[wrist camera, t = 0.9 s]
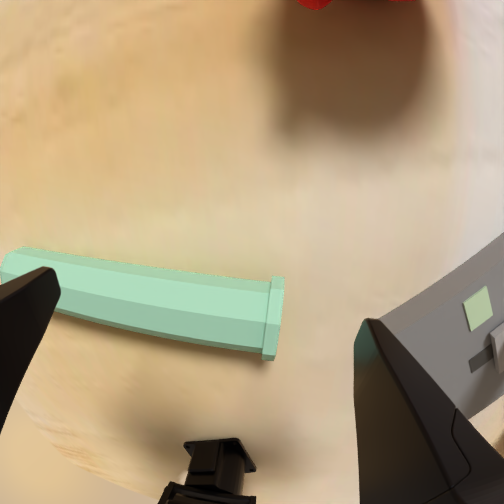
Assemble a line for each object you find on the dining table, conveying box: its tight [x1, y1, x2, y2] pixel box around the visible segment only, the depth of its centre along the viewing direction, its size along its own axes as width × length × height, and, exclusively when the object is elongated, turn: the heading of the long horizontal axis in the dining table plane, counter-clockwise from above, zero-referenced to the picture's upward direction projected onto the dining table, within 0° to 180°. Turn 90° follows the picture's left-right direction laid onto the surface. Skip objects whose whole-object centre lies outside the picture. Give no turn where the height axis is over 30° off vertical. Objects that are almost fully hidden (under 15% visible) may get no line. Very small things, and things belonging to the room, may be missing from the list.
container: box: [0, 246, 284, 361], centre depth 22 cm, size 6×6×25 cm
